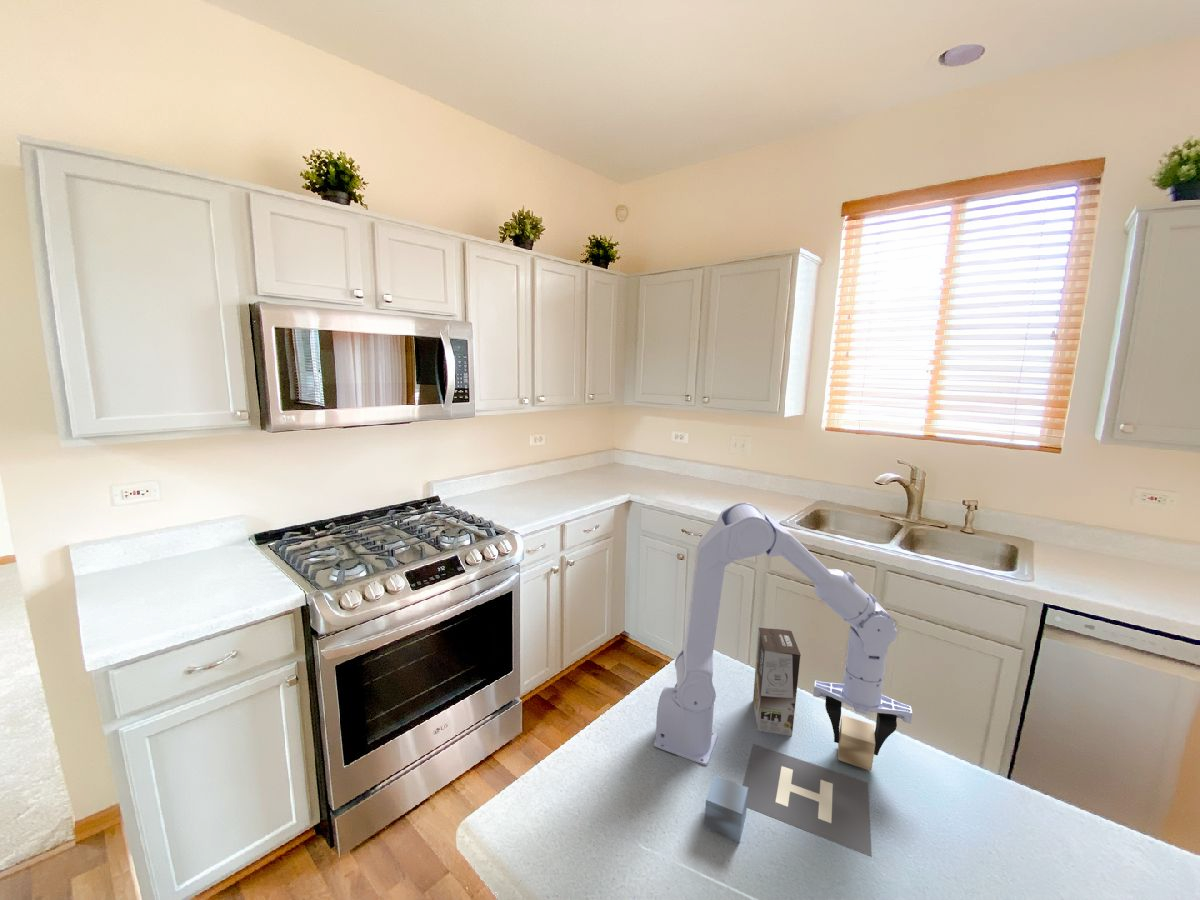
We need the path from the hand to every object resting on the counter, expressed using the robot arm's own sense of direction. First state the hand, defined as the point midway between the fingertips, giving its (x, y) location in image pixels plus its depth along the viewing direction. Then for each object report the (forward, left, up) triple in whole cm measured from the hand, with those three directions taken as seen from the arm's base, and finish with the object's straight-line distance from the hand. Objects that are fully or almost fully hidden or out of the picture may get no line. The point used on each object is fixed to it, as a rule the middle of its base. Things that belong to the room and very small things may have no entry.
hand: (855, 744), depth 85 cm
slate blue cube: (-17, -22, -3) cm, 28 cm away
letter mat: (-7, -11, -3) cm, 14 cm away
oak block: (0, 0, -2) cm, 2 cm away
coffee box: (-14, +5, -3) cm, 15 cm away
